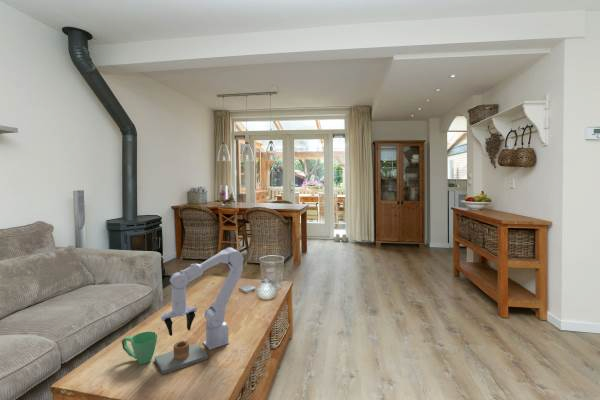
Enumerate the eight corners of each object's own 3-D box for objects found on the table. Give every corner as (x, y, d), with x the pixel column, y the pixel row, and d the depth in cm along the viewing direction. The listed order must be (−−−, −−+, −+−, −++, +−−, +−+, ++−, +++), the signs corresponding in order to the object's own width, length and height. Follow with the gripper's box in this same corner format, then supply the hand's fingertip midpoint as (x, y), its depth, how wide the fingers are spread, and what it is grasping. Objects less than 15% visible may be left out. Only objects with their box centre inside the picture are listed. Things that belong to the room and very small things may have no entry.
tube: (186, 351, 138) (185, 339, 137) (190, 357, 133) (190, 345, 133) (172, 355, 134) (172, 344, 134) (176, 361, 130) (176, 349, 129)
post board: (197, 346, 144) (197, 335, 144) (207, 358, 135) (207, 347, 134) (154, 360, 133) (154, 348, 133) (162, 374, 124) (162, 362, 123)
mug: (162, 355, 137) (162, 332, 137) (149, 368, 128) (148, 344, 127) (130, 352, 139) (130, 330, 139) (115, 365, 130) (114, 341, 129)
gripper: (164, 308, 130) (164, 341, 131) (199, 300, 139) (199, 330, 140) (159, 303, 135) (159, 334, 136) (193, 295, 144) (193, 324, 145)
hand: (179, 332), depth 138 cm, fingers open, 7 cm apart
